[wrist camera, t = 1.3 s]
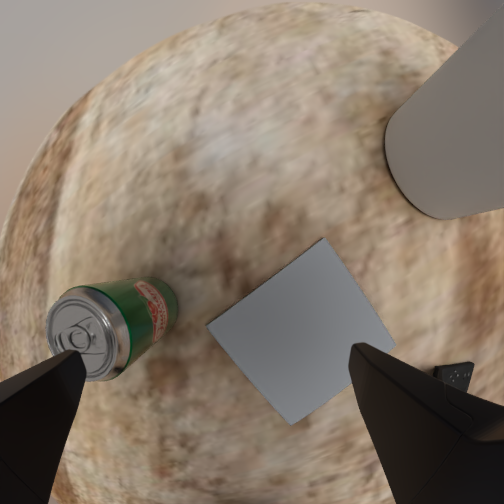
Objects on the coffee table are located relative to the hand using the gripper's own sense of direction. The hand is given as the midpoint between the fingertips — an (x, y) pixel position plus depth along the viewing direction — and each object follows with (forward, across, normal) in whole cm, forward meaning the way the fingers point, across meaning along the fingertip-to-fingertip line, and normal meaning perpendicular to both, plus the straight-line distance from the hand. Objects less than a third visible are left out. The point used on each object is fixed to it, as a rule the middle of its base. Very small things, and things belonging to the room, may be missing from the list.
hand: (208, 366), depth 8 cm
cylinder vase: (+19, -21, -7) cm, 29 cm away
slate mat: (+14, -6, +8) cm, 17 cm away
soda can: (+15, +7, +5) cm, 17 cm away
